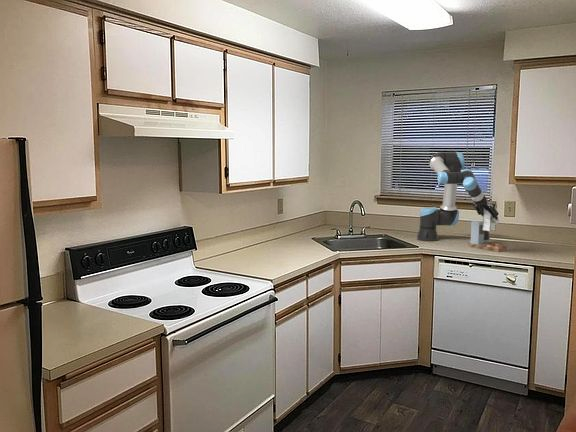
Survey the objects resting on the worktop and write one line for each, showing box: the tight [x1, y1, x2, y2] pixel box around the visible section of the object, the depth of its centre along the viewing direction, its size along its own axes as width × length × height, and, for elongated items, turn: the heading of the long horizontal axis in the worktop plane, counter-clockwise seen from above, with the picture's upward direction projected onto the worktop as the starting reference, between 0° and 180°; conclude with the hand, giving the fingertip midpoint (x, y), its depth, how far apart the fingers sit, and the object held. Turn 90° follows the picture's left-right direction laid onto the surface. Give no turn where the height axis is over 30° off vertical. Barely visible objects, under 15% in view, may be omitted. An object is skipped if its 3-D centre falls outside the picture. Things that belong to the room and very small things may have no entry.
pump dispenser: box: [484, 231, 491, 244], centre depth 357 cm, size 10×10×15 cm
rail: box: [467, 242, 508, 253], centre depth 340 cm, size 23×9×3 cm, turn 34°
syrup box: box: [482, 207, 498, 232], centre depth 325 cm, size 6×6×14 cm
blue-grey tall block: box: [470, 220, 485, 245], centre depth 345 cm, size 7×6×15 cm
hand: (493, 221), depth 328 cm, fingers closed on syrup box, 6 cm apart
